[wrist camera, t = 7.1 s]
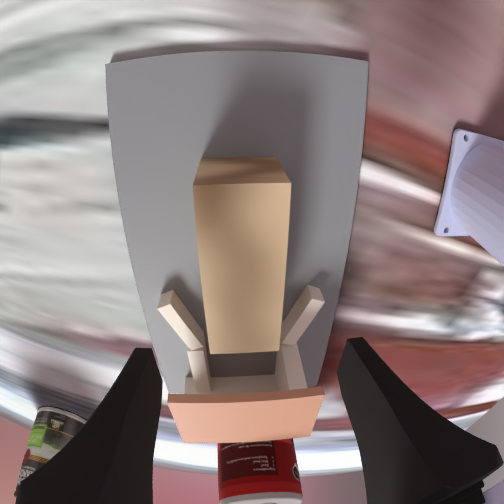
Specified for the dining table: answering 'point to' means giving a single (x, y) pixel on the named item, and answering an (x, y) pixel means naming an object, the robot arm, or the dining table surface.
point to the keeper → (184, 228)
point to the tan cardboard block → (242, 250)
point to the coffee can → (48, 438)
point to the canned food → (258, 473)
